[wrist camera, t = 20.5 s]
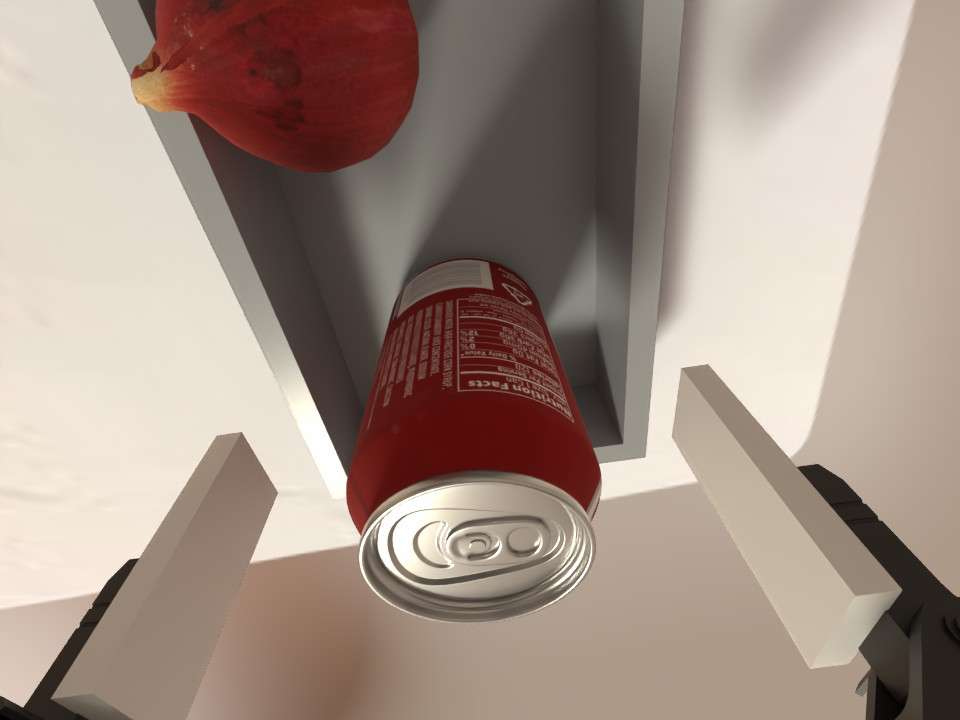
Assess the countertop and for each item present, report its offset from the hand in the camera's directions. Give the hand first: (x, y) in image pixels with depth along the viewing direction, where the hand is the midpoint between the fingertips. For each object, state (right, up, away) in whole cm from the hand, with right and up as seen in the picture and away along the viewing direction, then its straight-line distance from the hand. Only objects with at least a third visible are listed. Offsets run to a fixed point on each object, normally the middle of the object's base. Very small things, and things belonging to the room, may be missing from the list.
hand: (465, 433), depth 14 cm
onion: (-2, +13, 0) cm, 13 cm away
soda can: (0, +4, +7) cm, 8 cm away
